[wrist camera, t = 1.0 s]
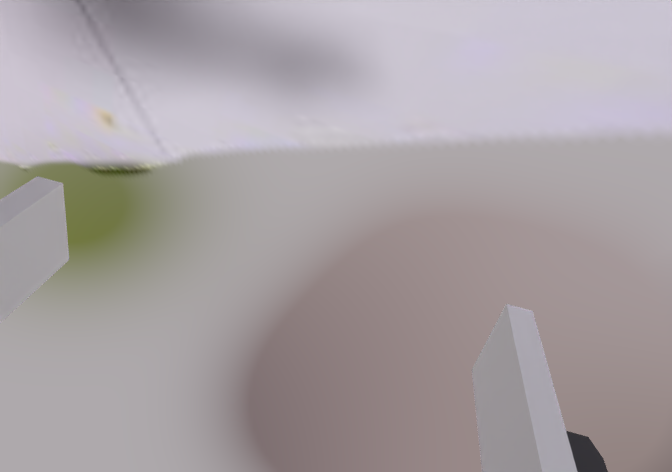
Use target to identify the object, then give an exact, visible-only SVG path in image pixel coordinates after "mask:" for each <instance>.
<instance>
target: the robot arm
mask: <svg viewBox="0 0 672 472" xmlns="http://www.w3.org/2000/svg"><path fill="white" fill-rule="evenodd" d="M68 260H69V252H68V240H67V227H66V216H65V204H64V191H63V183H60V182H56V181H53V180H49V179H45V178H41V177H38V176H37V177H35V178H34V179H32V180H31V181H29V182H28V183H26V184H24V185H23V186H21V187H20V188H18V189H17V190H15V191H13V192H12V193H10V194H9V195H7V196H5V197H4V198H2V199H1V200H0V323H1V322H2V321H3V320H4V319H5V318H6V317H7V316H9V315H10V314H11V313H12V312H13V311H14V310H15V309H16V308H17V307H18V306H19V305H20V304H22V303H23V302H24V301H25V300H26V299H27V298H28V297H29V296H30V295H31V294H32V293H33V292H35V291H36V290H37V289H38V288H39V287H40V286H41V285H42V284H43V283H44V282H45V281H46V280H48V279H49V278H50V277H51V276H52V275H53V274H54V273H55V272H56V271H57V270H58V269H59V268H61V267H62V266H63V265H64V264H65V263H66V262H67V261H68ZM472 376H473V387H474V395H475V406H476V416H477V426H478V435H479V445H480V455H481V465H482V472H608V471H607V469H606V466H605V463H604V460H603V458H602V456H601V455H600V453H599V452H598V450H597V449H596V448H595V446H594V445H593V443H592V442H591V440H590V439H589V437H586V436H583V435H579V434H575V433H572V432H568V431H566V429H565V425H564V422H563V418H562V414H561V411H560V407H559V404H558V400H557V396H556V393H555V390H554V386H553V382H552V379H551V375H550V371H549V368H548V364H547V360H546V357H545V353H544V350H543V346H542V343H541V339H540V335H539V332H538V328H537V325H536V321H535V317H534V314H533V311H531V310H527V309H523V308H520V307H516V306H512V305H509V304H506V306H505V308H504V310H503V311H502V313H501V315H500V317H499V319H498V321H497V323H496V325H495V327H494V329H493V331H492V332H491V334H490V336H489V338H488V340H487V342H486V344H485V346H484V348H483V350H482V352H481V353H480V355H479V357H478V359H477V361H476V363H475V365H474V367H473V369H472Z"/></svg>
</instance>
